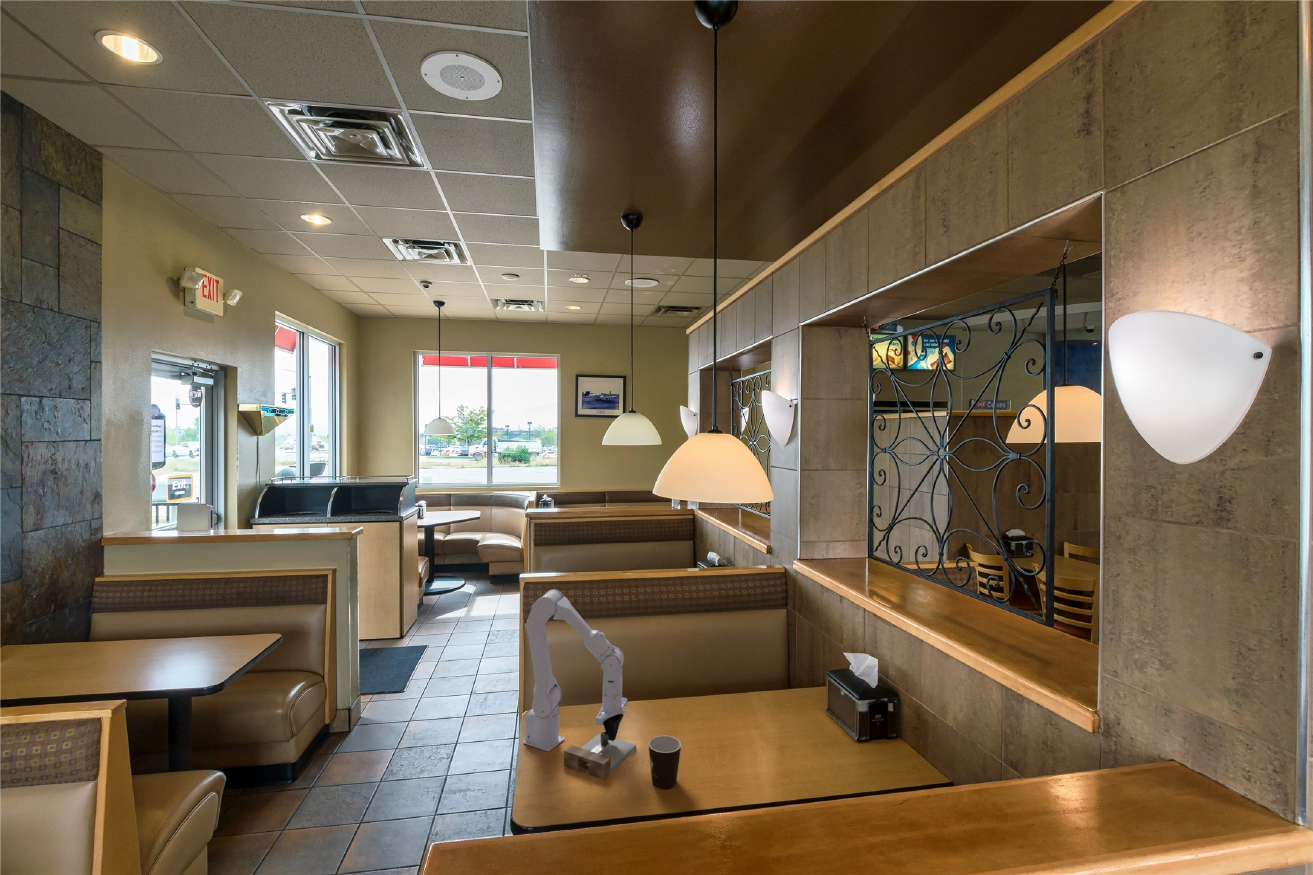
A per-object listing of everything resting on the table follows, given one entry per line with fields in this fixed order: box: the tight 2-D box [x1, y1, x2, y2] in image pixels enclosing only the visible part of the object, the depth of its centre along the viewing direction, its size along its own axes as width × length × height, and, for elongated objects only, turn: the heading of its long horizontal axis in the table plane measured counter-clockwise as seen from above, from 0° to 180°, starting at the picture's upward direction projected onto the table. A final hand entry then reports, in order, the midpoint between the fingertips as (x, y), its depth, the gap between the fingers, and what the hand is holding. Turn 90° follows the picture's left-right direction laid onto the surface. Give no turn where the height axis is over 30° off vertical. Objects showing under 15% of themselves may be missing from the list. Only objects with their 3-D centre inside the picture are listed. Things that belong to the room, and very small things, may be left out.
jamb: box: [563, 744, 612, 781], centre depth 152 cm, size 13×4×4 cm, turn 63°
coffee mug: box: [648, 734, 682, 790], centre depth 148 cm, size 12×9×10 cm
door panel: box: [581, 733, 637, 773], centre depth 159 cm, size 13×14×3 cm
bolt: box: [591, 731, 610, 754], centre depth 157 cm, size 2×7×4 cm, turn 152°
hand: (611, 739), depth 163 cm, fingers closed
